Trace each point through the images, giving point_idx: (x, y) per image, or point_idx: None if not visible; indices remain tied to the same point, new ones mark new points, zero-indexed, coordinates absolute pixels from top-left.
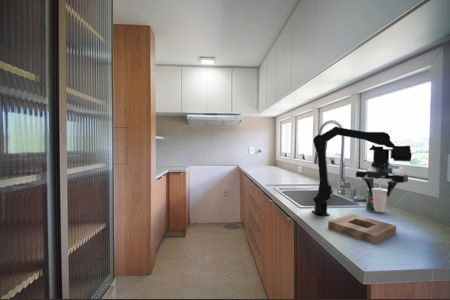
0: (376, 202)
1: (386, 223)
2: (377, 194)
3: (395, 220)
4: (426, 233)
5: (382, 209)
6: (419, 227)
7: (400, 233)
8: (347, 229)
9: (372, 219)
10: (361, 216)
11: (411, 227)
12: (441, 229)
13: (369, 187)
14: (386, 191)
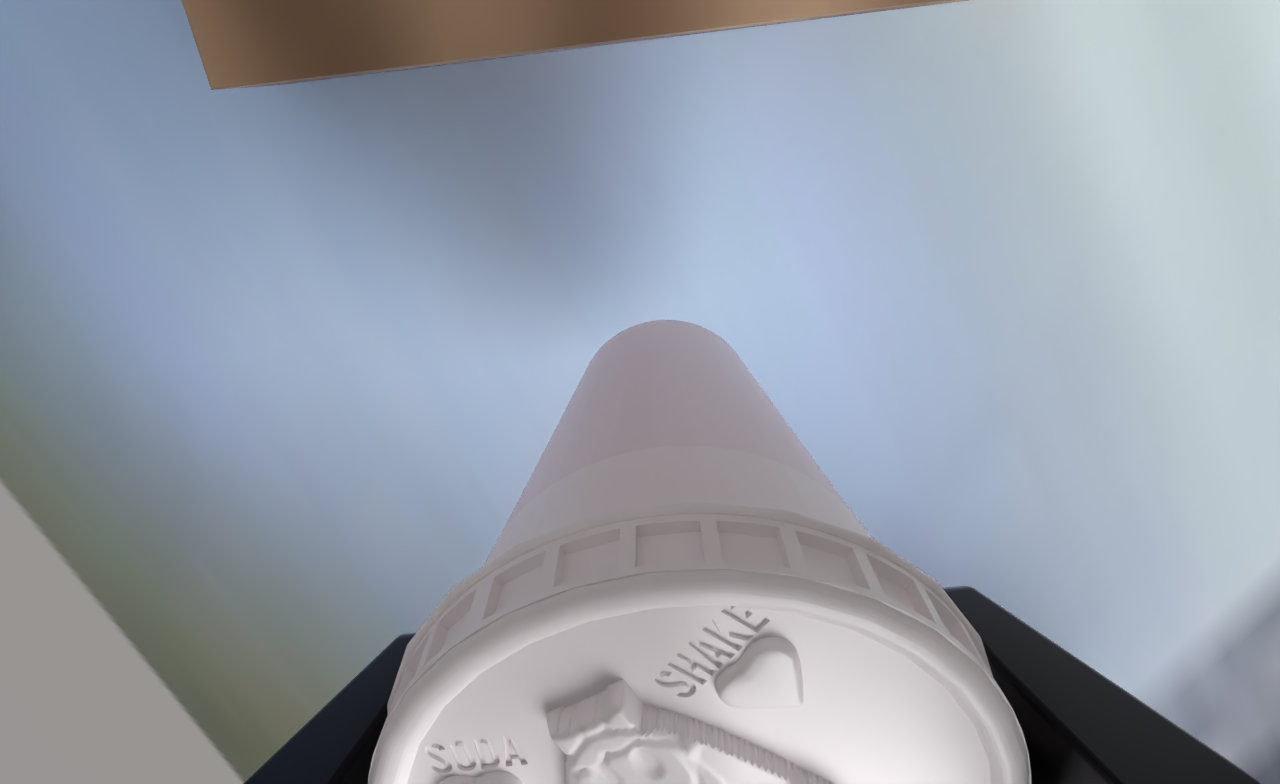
0: (679, 376)
1: (346, 34)
2: (646, 484)
3: None
4: (156, 447)
5: (578, 385)
6: (328, 584)
7: (242, 128)
8: None
9: (609, 27)
10: (831, 7)
11: (360, 508)
12: (212, 702)
13: (1156, 760)
14: (372, 758)
